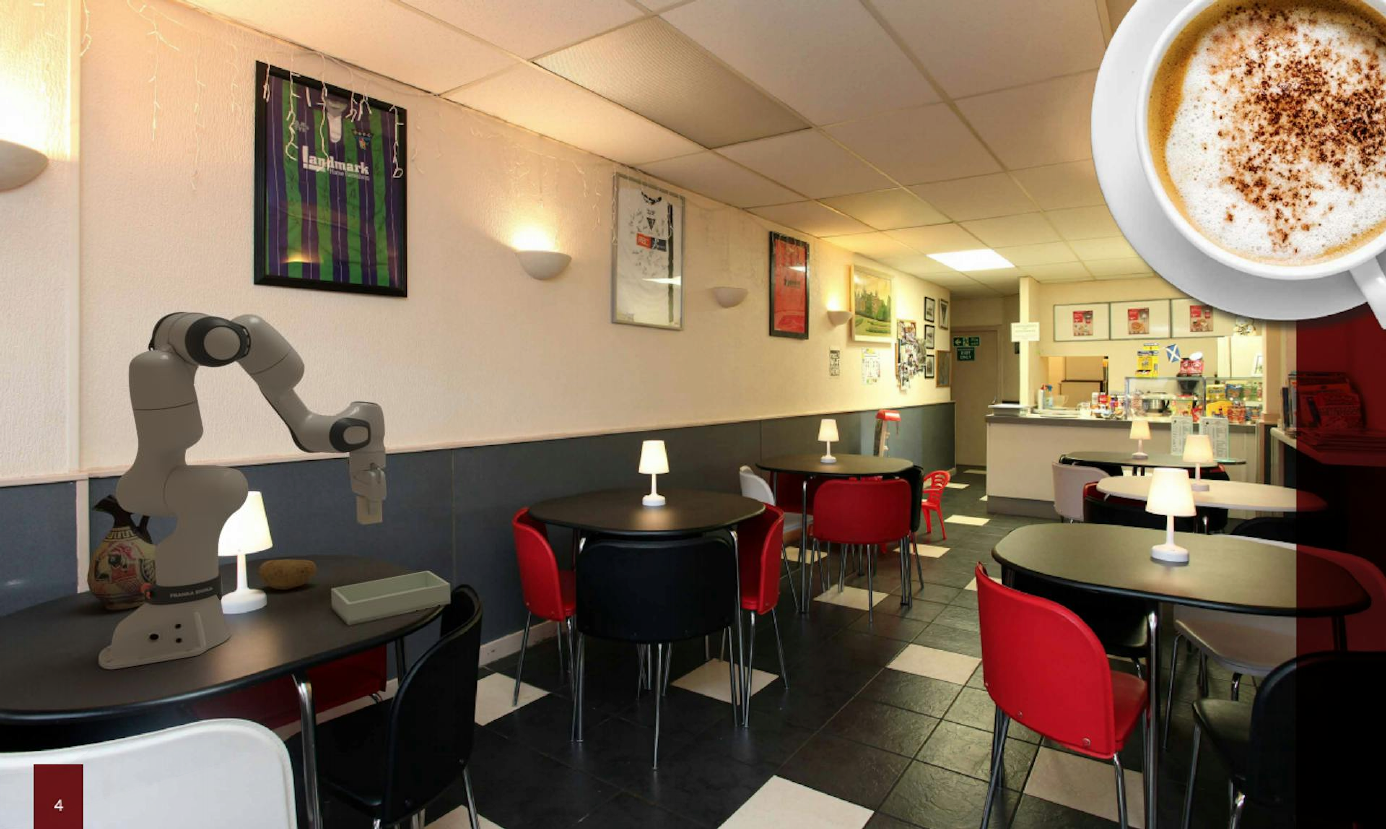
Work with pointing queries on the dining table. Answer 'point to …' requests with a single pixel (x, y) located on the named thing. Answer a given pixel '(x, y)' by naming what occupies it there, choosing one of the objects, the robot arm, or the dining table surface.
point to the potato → (286, 573)
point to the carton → (362, 511)
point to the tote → (389, 597)
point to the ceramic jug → (122, 559)
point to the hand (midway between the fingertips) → (369, 512)
